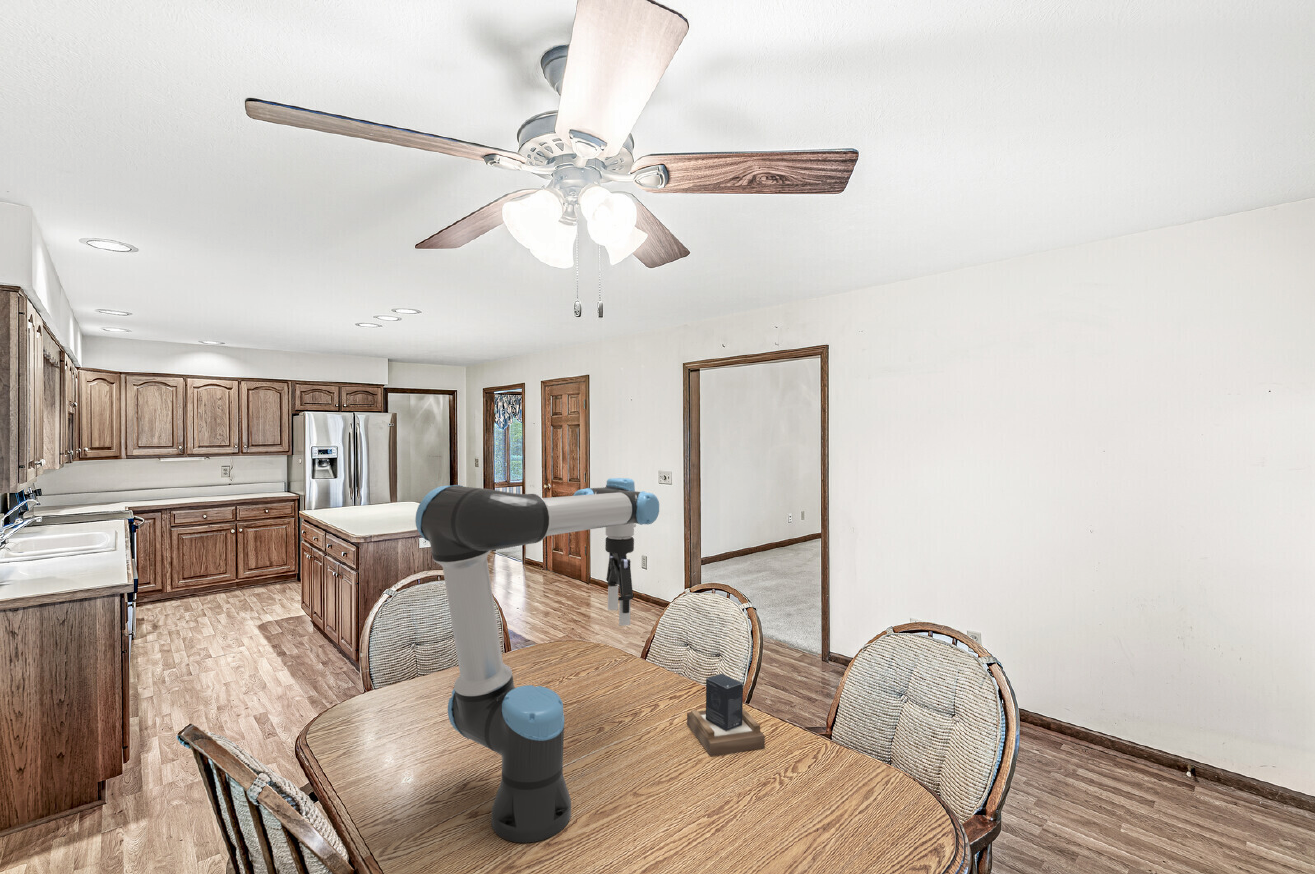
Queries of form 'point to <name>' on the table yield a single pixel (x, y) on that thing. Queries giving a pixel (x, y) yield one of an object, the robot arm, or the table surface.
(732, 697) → the box
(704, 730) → the stand
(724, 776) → the table surface
